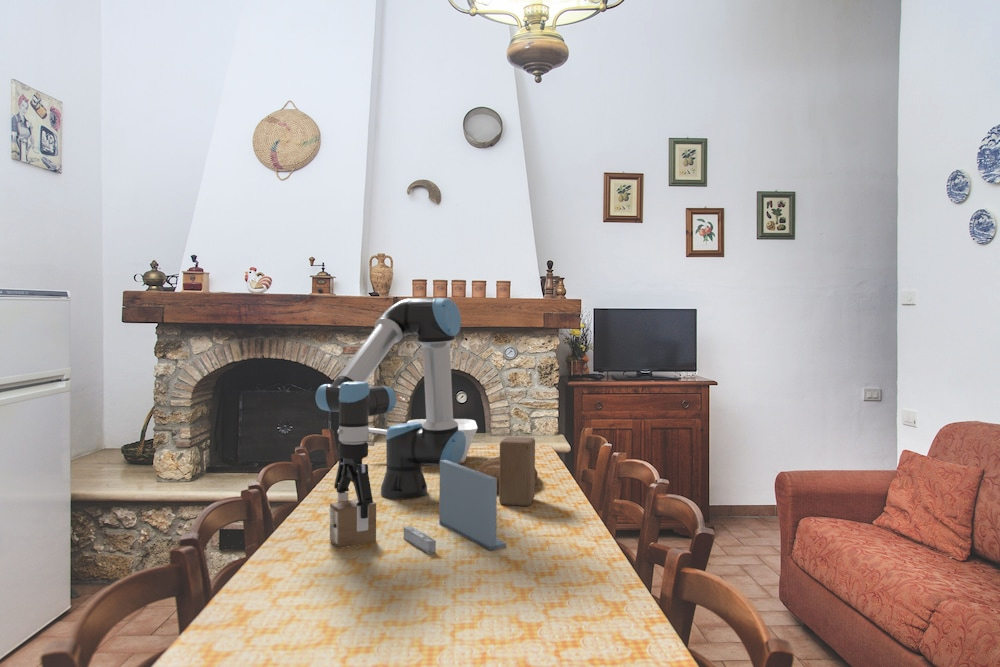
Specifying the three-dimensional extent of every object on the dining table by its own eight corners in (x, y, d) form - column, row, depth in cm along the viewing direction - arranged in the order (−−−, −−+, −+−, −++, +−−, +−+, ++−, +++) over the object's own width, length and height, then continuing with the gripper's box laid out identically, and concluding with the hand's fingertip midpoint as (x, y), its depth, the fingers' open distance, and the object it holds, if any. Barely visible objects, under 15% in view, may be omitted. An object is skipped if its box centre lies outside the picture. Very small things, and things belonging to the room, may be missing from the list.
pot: (478, 467, 260) (478, 429, 260) (363, 469, 256) (363, 430, 256) (474, 453, 289) (474, 418, 288) (370, 454, 285) (370, 419, 284)
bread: (473, 496, 219) (473, 470, 219) (478, 470, 256) (478, 448, 256) (540, 496, 219) (540, 471, 219) (535, 471, 256) (535, 449, 256)
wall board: (439, 523, 188) (439, 460, 188) (454, 521, 191) (455, 458, 191) (489, 550, 167) (490, 479, 166) (506, 547, 170) (506, 476, 169)
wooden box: (326, 542, 172) (326, 503, 172) (366, 534, 178) (366, 497, 178) (335, 549, 167) (335, 509, 167) (376, 541, 173) (376, 503, 173)
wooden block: (530, 507, 206) (530, 442, 206) (498, 505, 208) (499, 441, 208) (534, 498, 216) (535, 437, 215) (504, 496, 218) (505, 435, 217)
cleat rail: (403, 538, 175) (403, 527, 175) (410, 537, 177) (410, 525, 177) (428, 554, 164) (428, 542, 164) (435, 552, 165) (435, 540, 165)
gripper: (322, 436, 181) (321, 514, 181) (358, 450, 160) (356, 538, 160) (349, 434, 185) (348, 510, 185) (387, 448, 164) (385, 534, 164)
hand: (352, 523), depth 172 cm, fingers open, 13 cm apart
